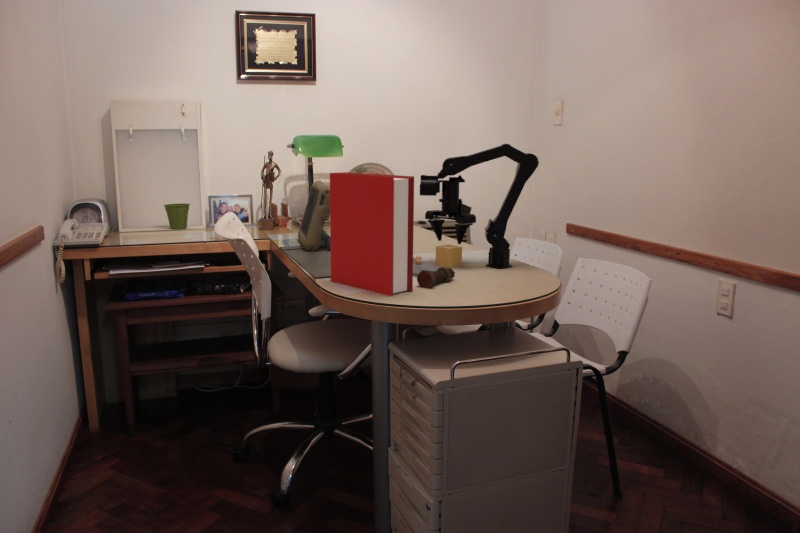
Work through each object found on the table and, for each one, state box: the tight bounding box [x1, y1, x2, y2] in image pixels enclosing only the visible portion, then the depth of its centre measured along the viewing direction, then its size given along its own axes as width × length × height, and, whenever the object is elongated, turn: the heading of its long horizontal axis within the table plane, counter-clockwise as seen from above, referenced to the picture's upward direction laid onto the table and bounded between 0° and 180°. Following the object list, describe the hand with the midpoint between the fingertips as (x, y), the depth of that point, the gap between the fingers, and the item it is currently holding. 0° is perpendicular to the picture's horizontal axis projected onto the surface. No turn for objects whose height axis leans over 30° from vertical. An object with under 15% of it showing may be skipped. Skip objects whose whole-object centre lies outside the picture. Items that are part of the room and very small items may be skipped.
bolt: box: [416, 266, 456, 289], centre depth 191 cm, size 6×5×15 cm
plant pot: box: [163, 203, 191, 230], centre depth 301 cm, size 12×12×11 cm
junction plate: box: [413, 255, 446, 278], centre depth 209 cm, size 14×14×5 cm
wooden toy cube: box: [435, 244, 463, 269], centre depth 218 cm, size 6×6×6 cm
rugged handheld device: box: [297, 180, 331, 252], centre depth 256 cm, size 33×14×25 cm, turn 18°
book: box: [329, 171, 415, 297], centre depth 184 cm, size 27×8×32 cm, turn 46°
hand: (449, 242), depth 217 cm, fingers open, 9 cm apart
